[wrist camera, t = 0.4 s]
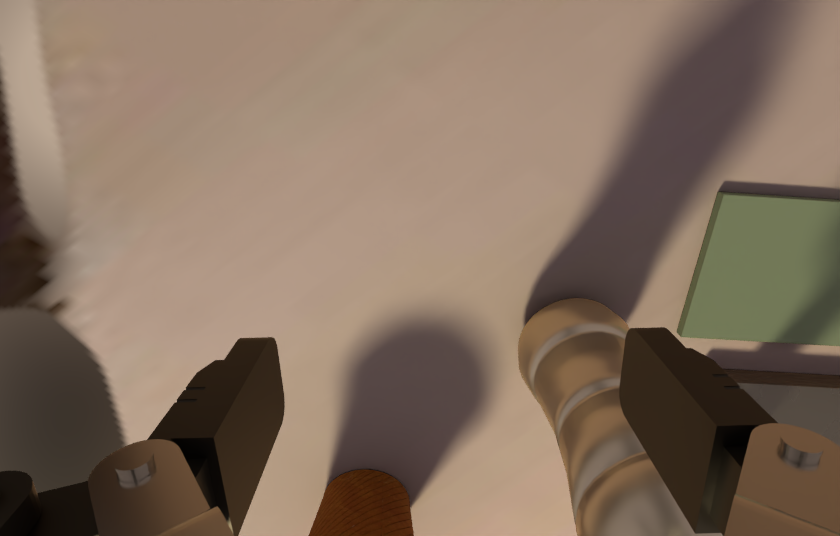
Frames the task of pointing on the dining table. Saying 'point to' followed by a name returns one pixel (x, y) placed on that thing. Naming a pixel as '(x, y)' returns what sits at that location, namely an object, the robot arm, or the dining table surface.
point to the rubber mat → (767, 272)
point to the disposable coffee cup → (364, 506)
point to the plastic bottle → (595, 421)
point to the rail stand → (796, 398)
